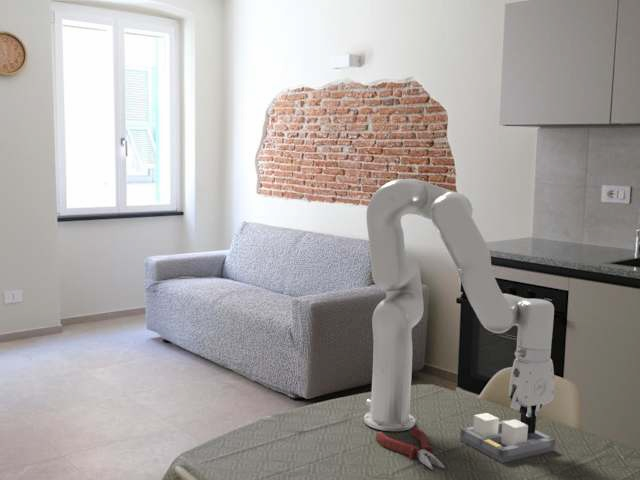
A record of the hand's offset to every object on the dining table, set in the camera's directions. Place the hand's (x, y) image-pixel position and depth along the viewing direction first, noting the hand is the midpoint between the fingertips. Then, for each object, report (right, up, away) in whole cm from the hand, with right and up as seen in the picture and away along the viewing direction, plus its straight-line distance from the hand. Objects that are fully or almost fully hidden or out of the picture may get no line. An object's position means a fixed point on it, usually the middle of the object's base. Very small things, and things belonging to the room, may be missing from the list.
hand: (527, 431), depth 171 cm
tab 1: (-9, -2, +2) cm, 10 cm away
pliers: (-28, -4, -4) cm, 29 cm away
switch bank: (-4, -4, +1) cm, 6 cm away
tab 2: (-4, -3, -2) cm, 5 cm away
